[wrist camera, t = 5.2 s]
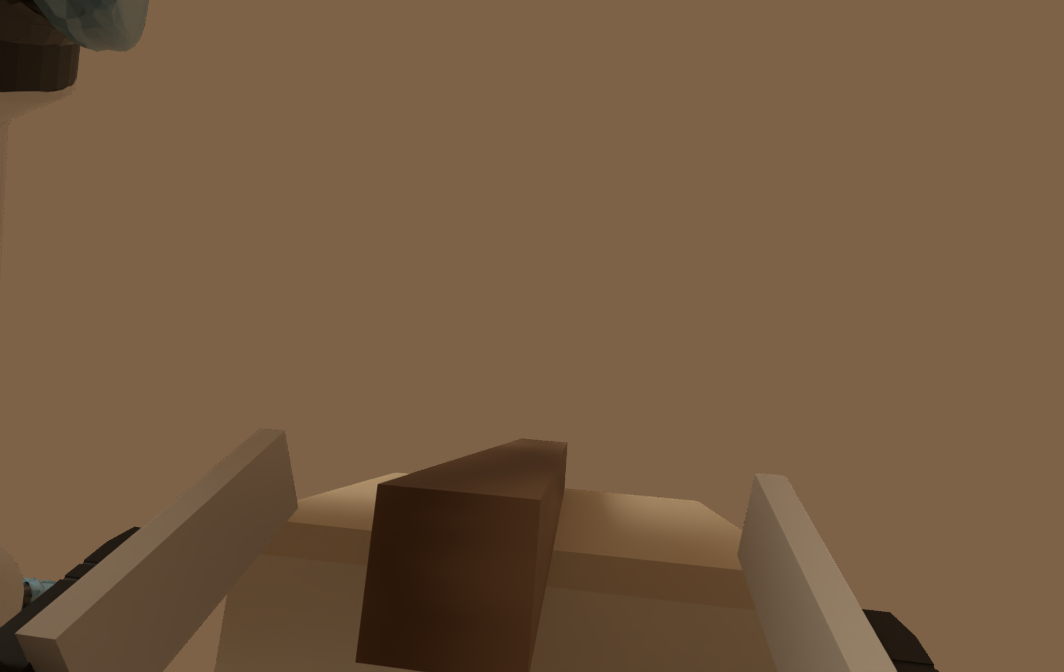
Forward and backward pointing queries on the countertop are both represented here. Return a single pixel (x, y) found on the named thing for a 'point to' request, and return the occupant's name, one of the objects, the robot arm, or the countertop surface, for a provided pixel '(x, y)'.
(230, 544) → the robot arm
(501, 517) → the dark brown wooden post
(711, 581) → the pedestal
